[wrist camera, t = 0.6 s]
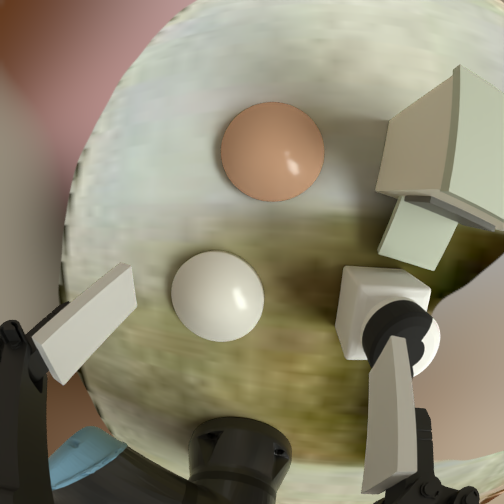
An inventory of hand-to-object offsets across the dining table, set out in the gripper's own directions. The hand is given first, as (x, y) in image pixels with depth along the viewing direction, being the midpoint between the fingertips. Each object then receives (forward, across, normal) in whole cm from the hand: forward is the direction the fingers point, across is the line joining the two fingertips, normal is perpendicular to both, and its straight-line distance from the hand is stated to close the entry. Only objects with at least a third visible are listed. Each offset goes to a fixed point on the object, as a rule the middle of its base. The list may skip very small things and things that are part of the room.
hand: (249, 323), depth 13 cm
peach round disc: (+18, +4, -5) cm, 20 cm away
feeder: (+20, -12, -4) cm, 24 cm away
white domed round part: (+14, +6, +10) cm, 18 cm away
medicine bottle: (+17, -10, +8) cm, 21 cm away
